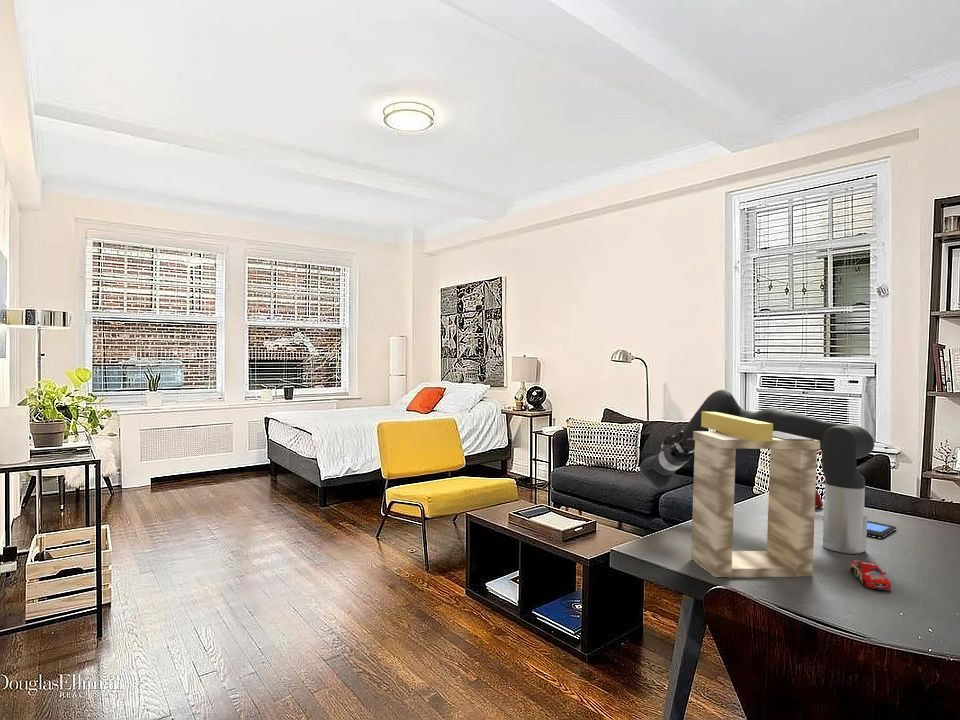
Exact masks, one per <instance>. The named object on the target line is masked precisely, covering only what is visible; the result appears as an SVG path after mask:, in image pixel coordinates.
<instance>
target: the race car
mask: <svg viewBox="0 0 960 720" xmlns="http://www.w3.org/2000/svg"><path fill="white" fill-rule="evenodd" d="M849 569H850V573H852V574H851V575H852V576H854V577H855V578H856V579H857V580H858V581H859V582H860V583H861V585H862V586H863V585H864V586H865V587H868V589H872V590H877V591H891V589H892V583H891V581H890V580H889V578H887V576H886V575H887V572H883V571H882V569H881V568H880V566H878V564H876V563H874V562H873V561H867V560H866V561H865V560H852V561H851V563H850V568H849ZM865 587H864V588H865Z"/></svg>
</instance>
